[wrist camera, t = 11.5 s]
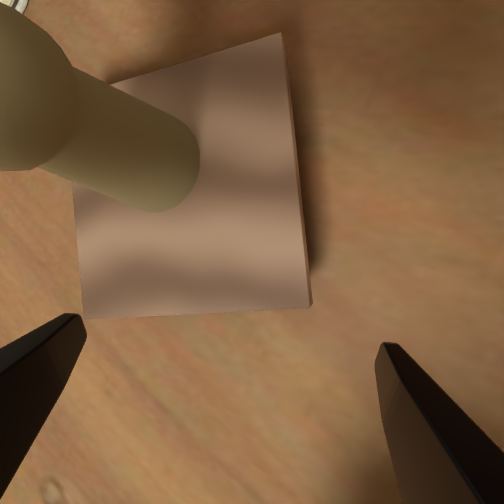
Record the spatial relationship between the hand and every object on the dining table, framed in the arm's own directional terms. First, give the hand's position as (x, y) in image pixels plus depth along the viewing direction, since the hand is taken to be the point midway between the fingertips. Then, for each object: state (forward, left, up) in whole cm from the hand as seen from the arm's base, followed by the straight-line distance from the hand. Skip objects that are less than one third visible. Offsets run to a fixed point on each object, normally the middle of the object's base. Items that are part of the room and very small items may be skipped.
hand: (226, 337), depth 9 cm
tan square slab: (+7, +6, -12) cm, 15 cm away
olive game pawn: (+9, +7, -8) cm, 14 cm away
